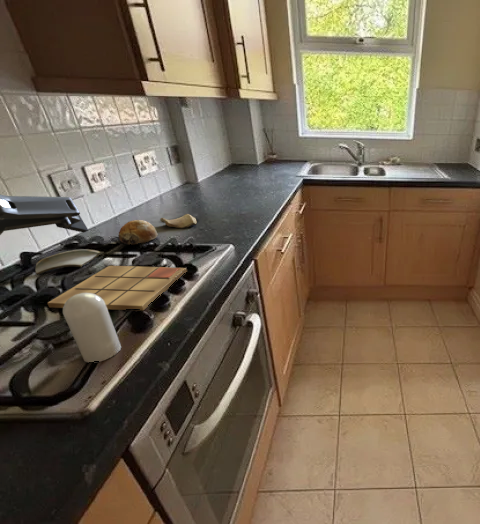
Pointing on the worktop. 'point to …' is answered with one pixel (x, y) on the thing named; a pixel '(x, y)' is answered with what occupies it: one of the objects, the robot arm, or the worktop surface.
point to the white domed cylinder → (91, 327)
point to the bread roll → (137, 232)
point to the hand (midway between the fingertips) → (34, 243)
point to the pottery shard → (180, 221)
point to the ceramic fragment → (66, 260)
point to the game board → (125, 286)
